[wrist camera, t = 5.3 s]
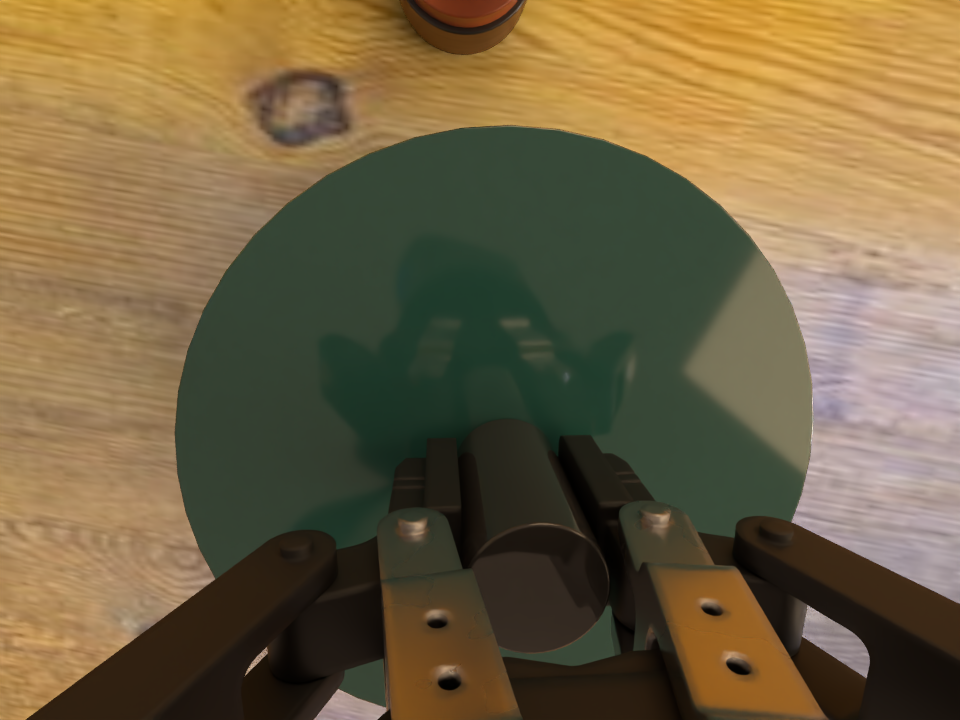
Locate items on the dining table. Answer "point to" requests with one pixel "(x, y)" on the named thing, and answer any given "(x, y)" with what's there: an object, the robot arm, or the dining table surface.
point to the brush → (463, 22)
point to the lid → (494, 366)
